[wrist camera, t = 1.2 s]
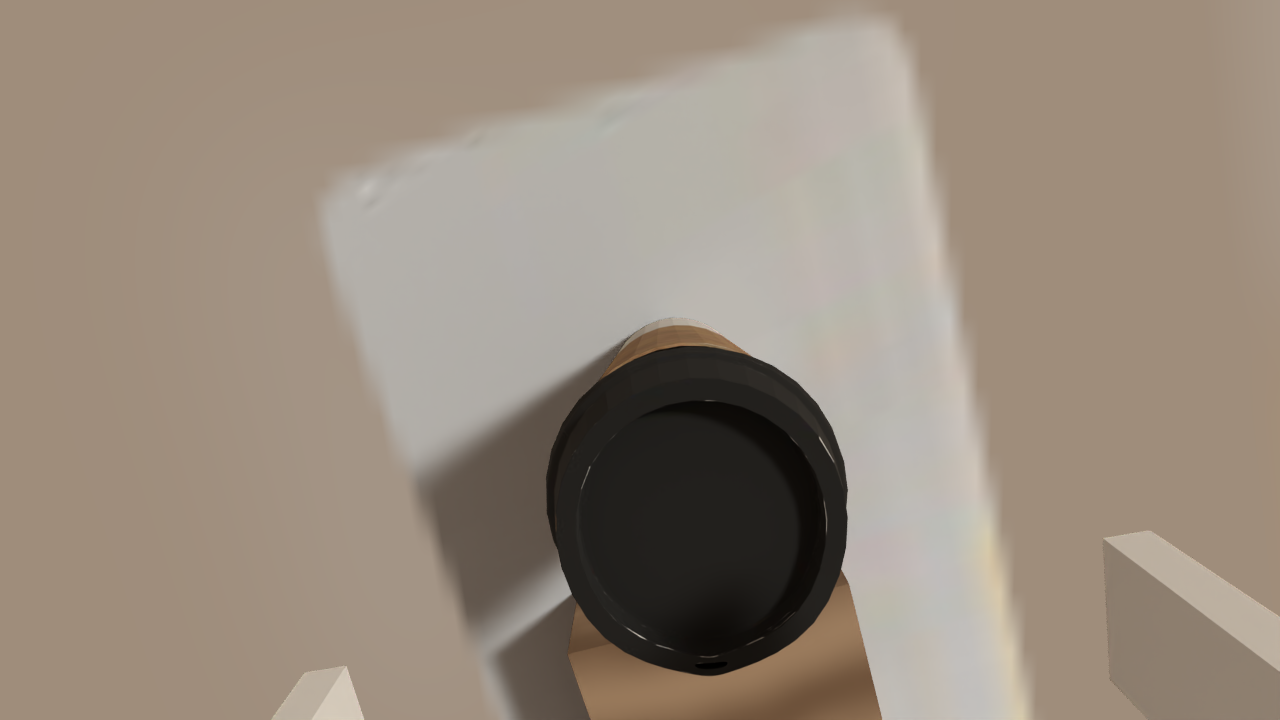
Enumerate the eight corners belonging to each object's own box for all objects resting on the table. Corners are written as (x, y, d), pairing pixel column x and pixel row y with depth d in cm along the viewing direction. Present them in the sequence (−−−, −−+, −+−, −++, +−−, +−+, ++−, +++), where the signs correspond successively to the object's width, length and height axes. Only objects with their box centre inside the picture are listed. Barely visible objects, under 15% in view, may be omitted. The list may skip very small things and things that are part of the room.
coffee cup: (593, 475, 33) (551, 697, 18) (574, 297, 31) (510, 383, 16) (773, 461, 33) (876, 674, 18) (764, 281, 31) (872, 354, 16)
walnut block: (871, 734, 36) (906, 819, 31) (646, 787, 37) (646, 878, 32) (819, 527, 33) (848, 583, 28) (578, 589, 34) (567, 654, 29)
